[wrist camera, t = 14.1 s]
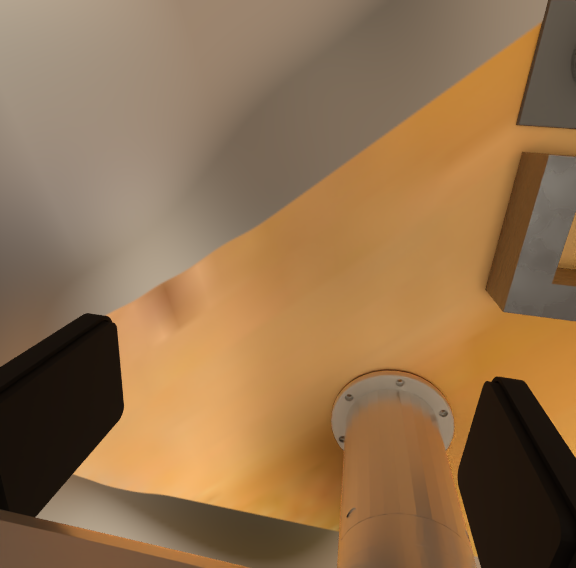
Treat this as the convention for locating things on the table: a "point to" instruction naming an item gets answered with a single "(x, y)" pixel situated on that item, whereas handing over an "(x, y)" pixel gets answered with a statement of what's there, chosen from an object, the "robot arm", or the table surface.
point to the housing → (537, 240)
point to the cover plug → (574, 64)
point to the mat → (552, 71)
